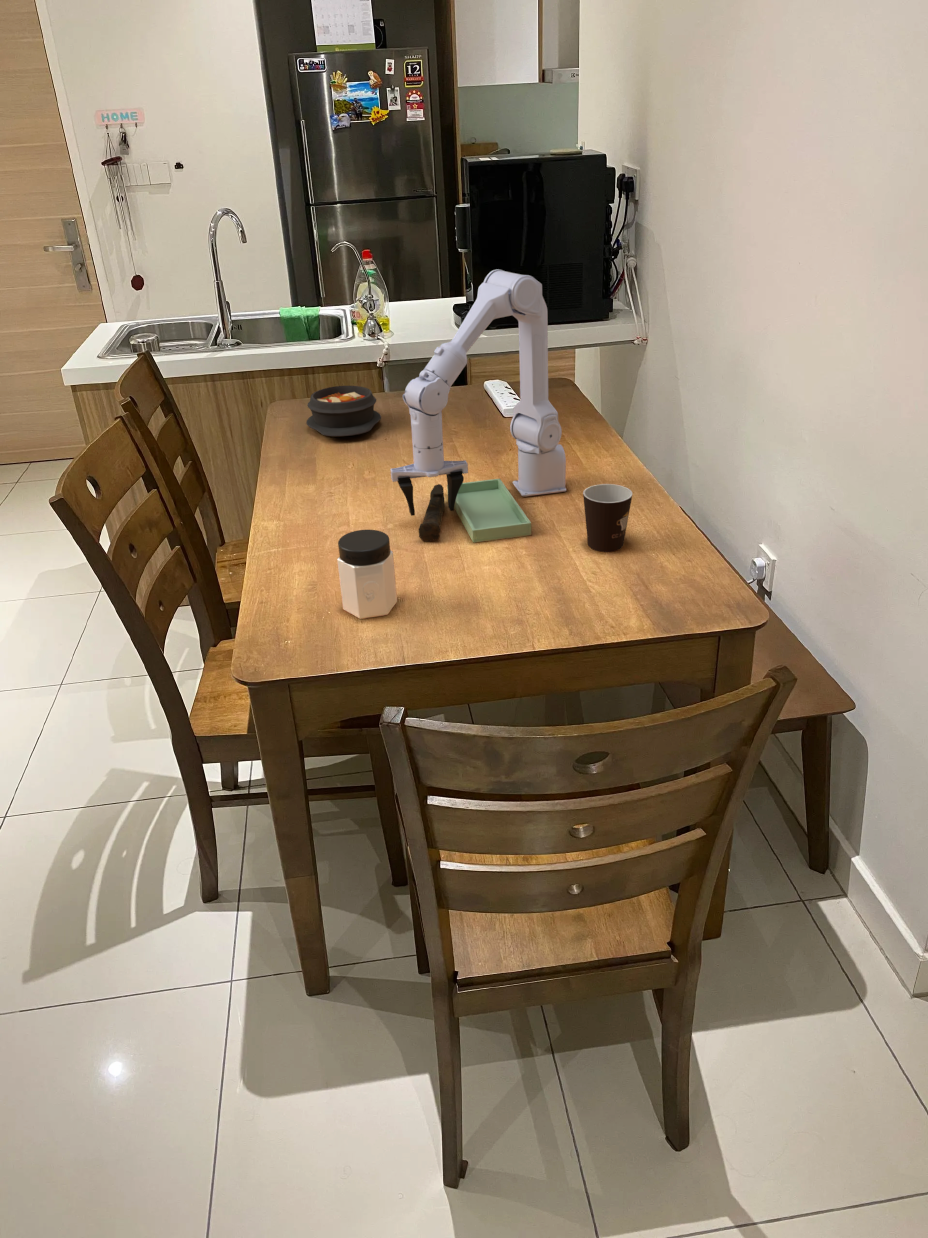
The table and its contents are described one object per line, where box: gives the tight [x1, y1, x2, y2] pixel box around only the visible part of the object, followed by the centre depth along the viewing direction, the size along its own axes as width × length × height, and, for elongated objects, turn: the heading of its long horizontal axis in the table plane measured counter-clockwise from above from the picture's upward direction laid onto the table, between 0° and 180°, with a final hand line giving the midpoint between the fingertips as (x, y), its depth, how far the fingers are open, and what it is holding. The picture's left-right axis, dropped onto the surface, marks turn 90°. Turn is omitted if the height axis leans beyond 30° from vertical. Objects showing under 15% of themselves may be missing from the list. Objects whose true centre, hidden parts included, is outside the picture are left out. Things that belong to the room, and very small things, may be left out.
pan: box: [446, 478, 532, 543], centre depth 182 cm, size 11×23×2 cm, turn 13°
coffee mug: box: [582, 483, 633, 553], centre depth 168 cm, size 12×9×10 cm
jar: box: [336, 529, 398, 620], centre depth 150 cm, size 9×8×12 cm
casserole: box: [306, 385, 382, 438], centre depth 231 cm, size 25×19×8 cm
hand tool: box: [418, 483, 445, 543], centre depth 180 cm, size 19×4×5 cm, turn 173°
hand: (431, 511), depth 180 cm, fingers open, 7 cm apart
